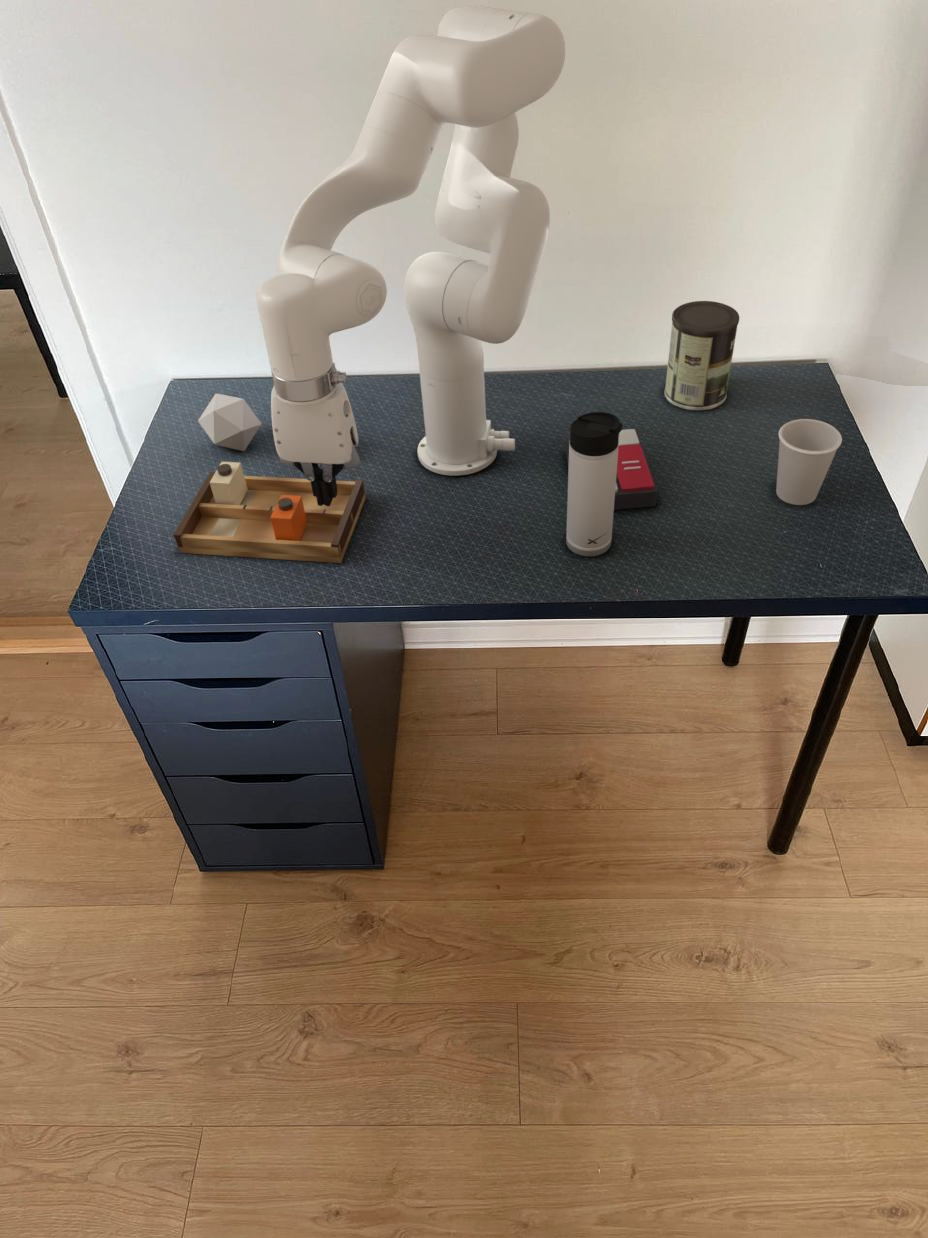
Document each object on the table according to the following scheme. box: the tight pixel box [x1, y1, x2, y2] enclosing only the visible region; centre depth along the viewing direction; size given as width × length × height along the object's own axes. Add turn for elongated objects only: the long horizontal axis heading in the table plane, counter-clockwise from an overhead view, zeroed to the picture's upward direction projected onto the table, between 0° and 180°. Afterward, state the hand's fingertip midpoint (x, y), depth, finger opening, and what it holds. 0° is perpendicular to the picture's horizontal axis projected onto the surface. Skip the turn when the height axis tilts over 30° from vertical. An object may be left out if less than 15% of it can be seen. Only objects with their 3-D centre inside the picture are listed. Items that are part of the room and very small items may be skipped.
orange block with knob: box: [270, 495, 307, 541], centre depth 131 cm, size 3×5×6 cm, turn 171°
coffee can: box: [663, 300, 740, 411], centre depth 151 cm, size 10×10×14 cm
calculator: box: [565, 428, 659, 511], centre depth 139 cm, size 11×4×15 cm
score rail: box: [173, 471, 367, 564], centre depth 136 cm, size 24×15×3 cm, turn 81°
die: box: [197, 393, 263, 452], centre depth 150 cm, size 8×9×10 cm
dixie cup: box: [775, 418, 843, 506], centre depth 132 cm, size 8×8×10 cm
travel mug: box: [565, 411, 623, 557], centre depth 123 cm, size 6×7×20 cm
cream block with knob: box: [210, 461, 248, 505], centre depth 138 cm, size 3×5×6 cm, turn 171°
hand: (326, 499), depth 127 cm, fingers closed
